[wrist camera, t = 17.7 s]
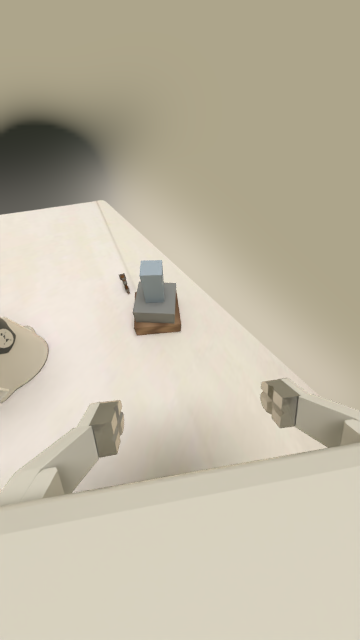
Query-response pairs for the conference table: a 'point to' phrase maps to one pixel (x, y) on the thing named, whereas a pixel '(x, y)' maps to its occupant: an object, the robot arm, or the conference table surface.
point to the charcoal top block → (156, 306)
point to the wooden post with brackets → (122, 277)
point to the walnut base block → (159, 324)
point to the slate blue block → (152, 281)
